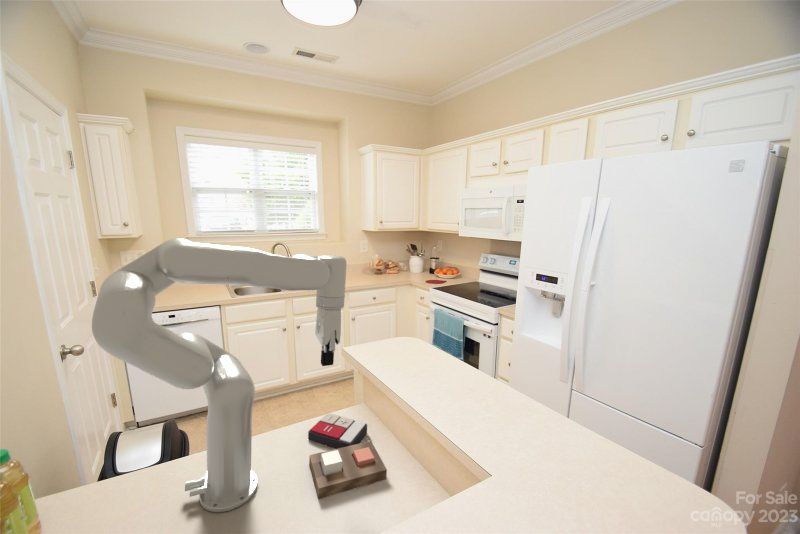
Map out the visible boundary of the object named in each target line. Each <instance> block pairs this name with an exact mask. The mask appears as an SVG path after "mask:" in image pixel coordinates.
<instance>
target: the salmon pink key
mask: <svg viewBox="0 0 800 534" xmlns="http://www.w3.org/2000/svg"><path fill="white" fill-rule="evenodd" d="M353 459H354V461H355V463H356V466H357V467H361V466H364V465H368V464H372V463H374V456H373V455H372V453H371V451H370V449H369V447H367V448H363V449H359V450H354V451H353Z"/></svg>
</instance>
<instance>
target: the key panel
mask: <svg viewBox="0 0 800 534" xmlns="http://www.w3.org/2000/svg"><path fill="white" fill-rule="evenodd" d="M367 447H369V449H370V451H371V453H372V455H373V456H374V463H372V464H368V465H364V466H361V467H357V466H356V463H355V461H354V459H353V451H354V450H359V449H363V448H367ZM335 450H338V452H339V454H340V457H341V459H342V472H338V473H334V474H330V475H327V476H323V474H322V470H321V454H323V453H327V452H331V451H335ZM308 460H309V461H308V462H309V463H308V465H309V469H310V474H311V477H312V481H313V484H314V489H315V492H316V496H317V500H320V499H321V500H322V499H324V498H325V499H326V498H328V497H331V496H335V495H337V494H341V493H345V492H349V491H352V490H355V489H358V488H361V487H366V486H368V485H372V484H375V483H379V482H382V481H385V480H387V472H388V469H387V467H386V465H385V464H384V462H383V459H382V458H381V456H380V454H379V452H378V451H377V449H376V447H375V445H374V443H373V441H372V440H368V441H365V442H361V443H360V444H355V445H351V446H347V447H342V448H338V449H334V448H333V449H329V450H325V451H321V452H317V453H312V454H309V459H308Z"/></svg>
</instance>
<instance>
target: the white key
mask: <svg viewBox="0 0 800 534" xmlns="http://www.w3.org/2000/svg"><path fill="white" fill-rule="evenodd" d="M321 470H322V474H323V476H327V475H330V474H334V473H338V472H342V459H341V457H340V454H339V452H338V450H335V451H331V452H327V453H323V454H321Z"/></svg>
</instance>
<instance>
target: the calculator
mask: <svg viewBox="0 0 800 534" xmlns="http://www.w3.org/2000/svg"><path fill="white" fill-rule="evenodd" d="M307 433H308V434H307V438H308V439H309V440H308V441H310V440H311V441H310V442H313V443H316V444H319V445H322V446H324V447H327V448H331V449H333V450H334V449H338V448H342V447H347V446H351V445H355V444H360V443H362V441H363V440H364V438H365V437H366V436H367V435H368V423H366V422H362V421H358V420H354V419H353V418H349V417H346V416H340V415H337V414H334V413H330V412H327V413H326V414H325V415H324V416H323V417H322V418H321V419H320V420H319V421H318V422H317V423H316V424H315V425H313V426H312V427H311V428H310V429H309V430H308V432H307Z"/></svg>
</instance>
